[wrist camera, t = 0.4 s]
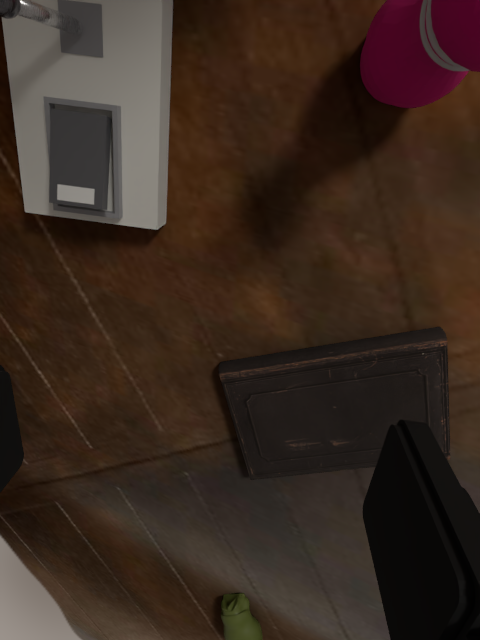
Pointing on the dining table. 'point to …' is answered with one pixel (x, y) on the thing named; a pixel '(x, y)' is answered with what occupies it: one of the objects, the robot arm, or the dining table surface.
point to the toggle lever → (40, 15)
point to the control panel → (97, 100)
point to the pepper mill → (420, 50)
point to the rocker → (79, 159)
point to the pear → (239, 618)
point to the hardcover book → (336, 401)
